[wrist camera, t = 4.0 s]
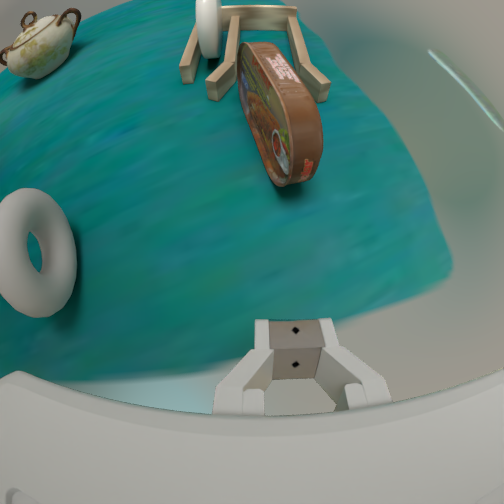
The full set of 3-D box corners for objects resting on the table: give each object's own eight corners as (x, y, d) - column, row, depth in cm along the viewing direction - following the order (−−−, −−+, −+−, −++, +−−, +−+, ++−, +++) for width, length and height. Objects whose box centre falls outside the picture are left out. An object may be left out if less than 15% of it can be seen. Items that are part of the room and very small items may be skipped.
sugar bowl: (100, 30, 36) (80, -21, 22) (86, 61, 32) (57, -2, 17) (27, 69, 35) (2, 27, 20) (6, 108, 30) (-29, 62, 16)
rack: (177, 104, 26) (168, 74, 22) (200, 30, 32) (197, 8, 28) (326, 103, 26) (334, 73, 22) (304, 29, 32) (307, 7, 28)
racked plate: (204, 74, 28) (191, -3, 17) (213, 36, 31) (206, -25, 21) (217, 73, 28) (207, -4, 17) (224, 35, 31) (218, -26, 21)
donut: (58, 223, 22) (-7, 173, 13) (84, 214, 22) (21, 156, 13) (59, 325, 19) (-26, 309, 10) (87, 321, 20) (0, 303, 10)
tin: (235, 91, 27) (231, 28, 19) (263, 87, 27) (264, 24, 19) (278, 207, 22) (289, 139, 14) (314, 198, 23) (339, 132, 15)
